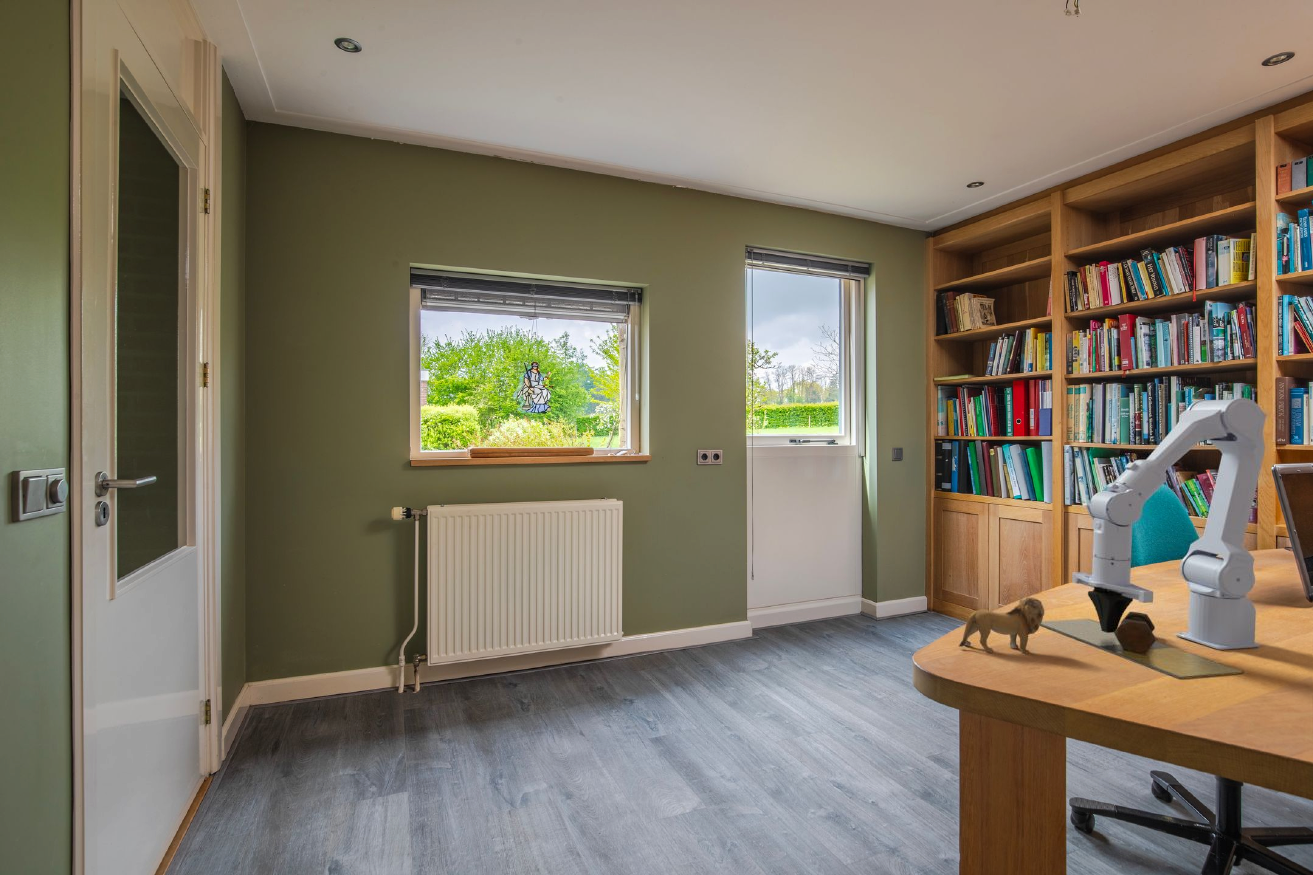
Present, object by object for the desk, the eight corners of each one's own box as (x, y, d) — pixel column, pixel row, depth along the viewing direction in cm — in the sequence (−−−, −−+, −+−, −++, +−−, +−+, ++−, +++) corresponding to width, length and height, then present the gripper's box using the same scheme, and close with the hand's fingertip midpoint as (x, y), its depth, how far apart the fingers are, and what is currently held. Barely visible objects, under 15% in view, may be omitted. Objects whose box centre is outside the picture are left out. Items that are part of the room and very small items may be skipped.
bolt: (1143, 641, 122) (1139, 660, 110) (1115, 623, 125) (1108, 639, 113) (1163, 617, 120) (1161, 634, 109) (1134, 599, 123) (1130, 613, 111)
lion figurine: (1030, 643, 115) (1032, 593, 115) (1051, 654, 110) (1053, 601, 109) (950, 644, 114) (952, 593, 114) (967, 655, 109) (969, 601, 108)
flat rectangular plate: (1089, 620, 130) (1089, 618, 130) (1243, 673, 103) (1243, 671, 103) (1034, 623, 127) (1034, 621, 127) (1178, 678, 100) (1178, 676, 100)
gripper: (1060, 550, 125) (1057, 620, 125) (1131, 566, 110) (1128, 646, 111) (1090, 549, 126) (1088, 618, 126) (1164, 565, 112) (1161, 643, 112)
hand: (1108, 631), depth 119 cm, fingers closed
